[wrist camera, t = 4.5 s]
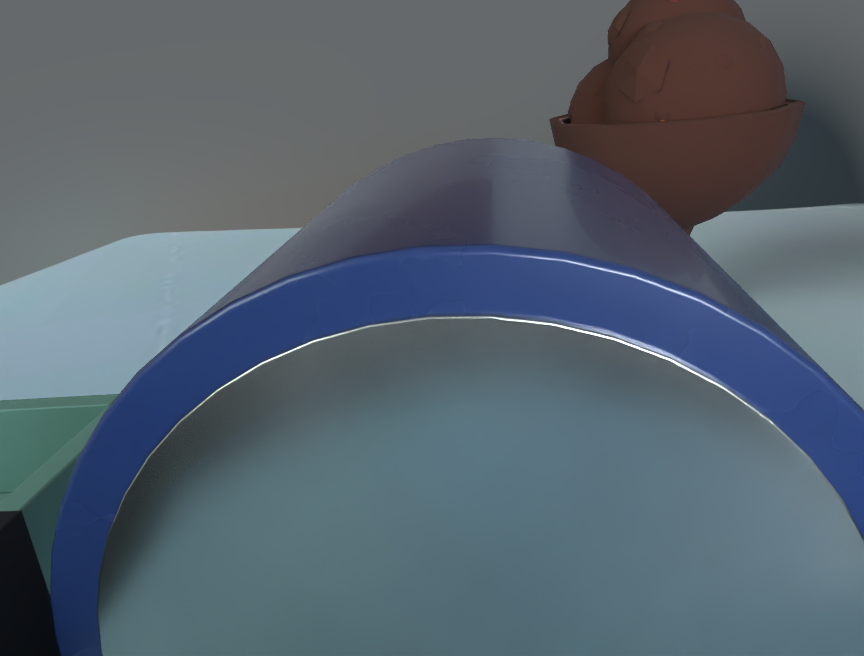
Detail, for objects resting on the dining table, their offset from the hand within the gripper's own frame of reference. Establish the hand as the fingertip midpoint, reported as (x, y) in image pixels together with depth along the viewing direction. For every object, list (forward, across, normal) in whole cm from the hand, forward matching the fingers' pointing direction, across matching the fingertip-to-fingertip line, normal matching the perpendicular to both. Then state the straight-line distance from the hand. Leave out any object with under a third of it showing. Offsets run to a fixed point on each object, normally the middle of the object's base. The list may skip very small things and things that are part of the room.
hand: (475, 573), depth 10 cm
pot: (+4, 0, -6) cm, 7 cm away
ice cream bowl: (+28, +8, -6) cm, 29 cm away
